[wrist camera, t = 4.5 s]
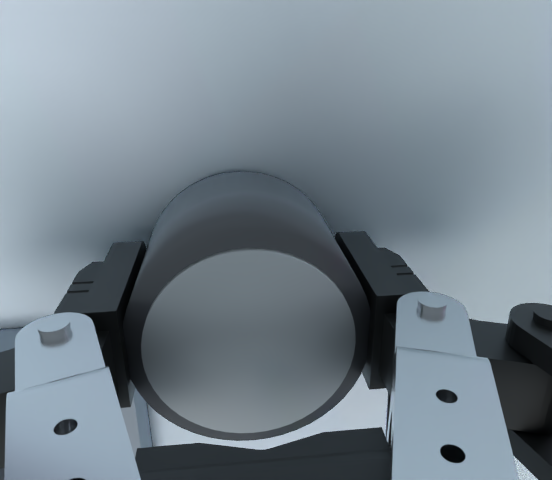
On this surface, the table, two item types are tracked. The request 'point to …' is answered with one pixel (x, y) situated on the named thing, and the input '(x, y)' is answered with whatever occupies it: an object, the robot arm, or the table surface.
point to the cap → (244, 311)
